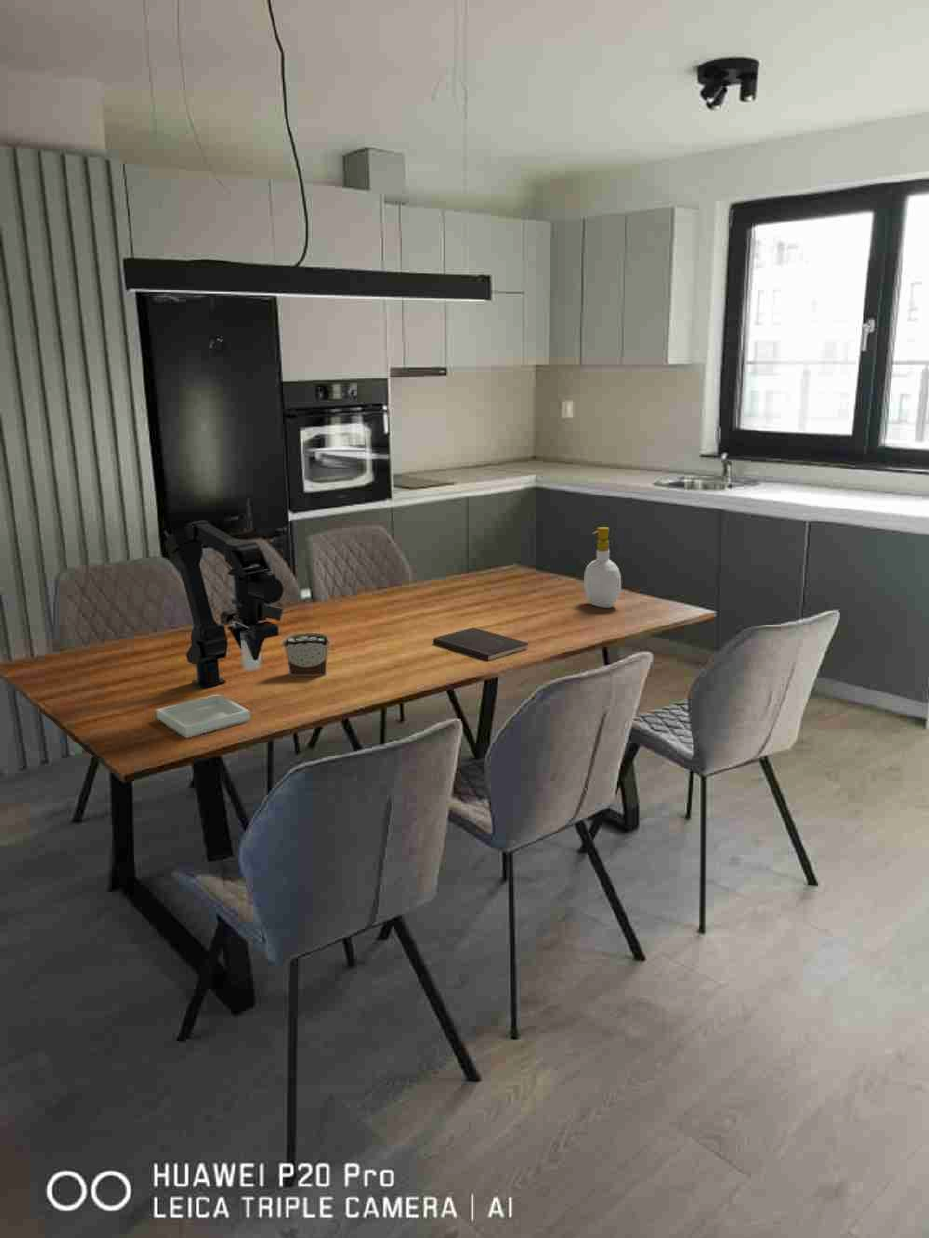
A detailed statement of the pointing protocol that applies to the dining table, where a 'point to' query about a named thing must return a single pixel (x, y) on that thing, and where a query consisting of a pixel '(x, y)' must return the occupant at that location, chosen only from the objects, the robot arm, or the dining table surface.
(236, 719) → the tray
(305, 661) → the food container
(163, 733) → the dining table surface
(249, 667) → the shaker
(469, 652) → the hardcover book
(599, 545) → the soap bottle
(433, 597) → the dining table surface
